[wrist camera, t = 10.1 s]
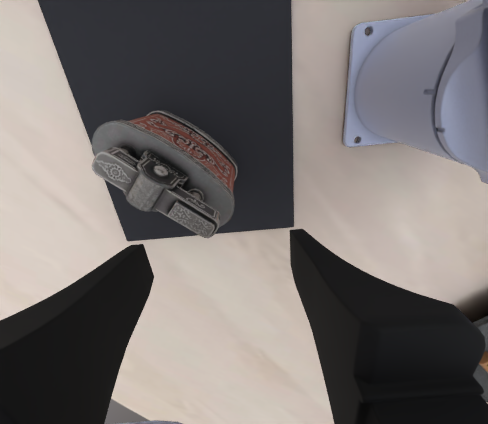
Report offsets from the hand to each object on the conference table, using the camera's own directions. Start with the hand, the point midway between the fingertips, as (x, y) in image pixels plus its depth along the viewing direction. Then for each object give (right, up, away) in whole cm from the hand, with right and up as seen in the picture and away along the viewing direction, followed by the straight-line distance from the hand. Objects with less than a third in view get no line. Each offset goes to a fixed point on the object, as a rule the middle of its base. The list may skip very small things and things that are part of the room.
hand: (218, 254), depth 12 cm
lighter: (-3, +7, +8) cm, 11 cm away
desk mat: (-3, +9, +7) cm, 12 cm away
